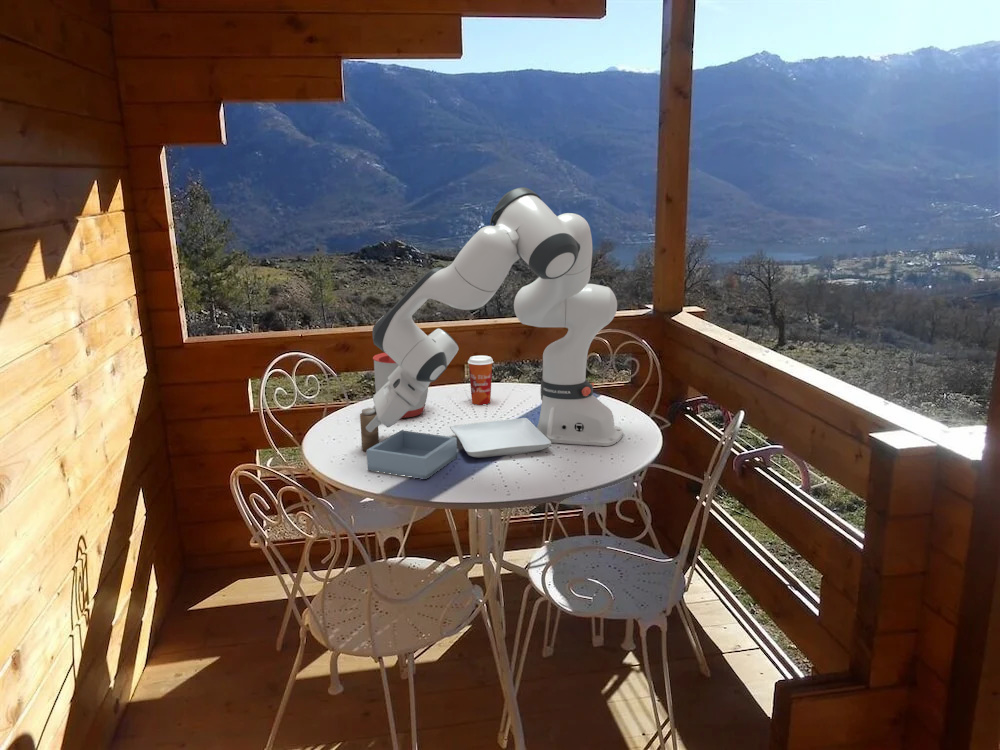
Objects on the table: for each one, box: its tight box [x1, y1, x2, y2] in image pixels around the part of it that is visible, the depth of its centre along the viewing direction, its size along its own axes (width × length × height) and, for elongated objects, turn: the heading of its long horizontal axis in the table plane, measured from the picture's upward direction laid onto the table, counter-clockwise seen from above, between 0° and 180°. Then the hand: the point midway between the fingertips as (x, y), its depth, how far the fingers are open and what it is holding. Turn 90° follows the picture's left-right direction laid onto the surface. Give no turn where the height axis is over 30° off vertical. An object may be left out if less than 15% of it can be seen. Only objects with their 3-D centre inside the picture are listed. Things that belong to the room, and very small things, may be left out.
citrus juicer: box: [372, 352, 429, 420], centre depth 195 cm, size 16×17×20 cm
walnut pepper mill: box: [359, 407, 380, 453], centre depth 166 cm, size 4×4×10 cm
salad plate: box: [449, 417, 552, 458], centre depth 170 cm, size 21×21×3 cm
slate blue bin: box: [366, 429, 458, 480], centre depth 157 cm, size 15×15×5 cm
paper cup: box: [467, 355, 495, 406], centre depth 206 cm, size 8×8×14 cm
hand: (366, 426), depth 166 cm, fingers closed on walnut pepper mill, 4 cm apart
